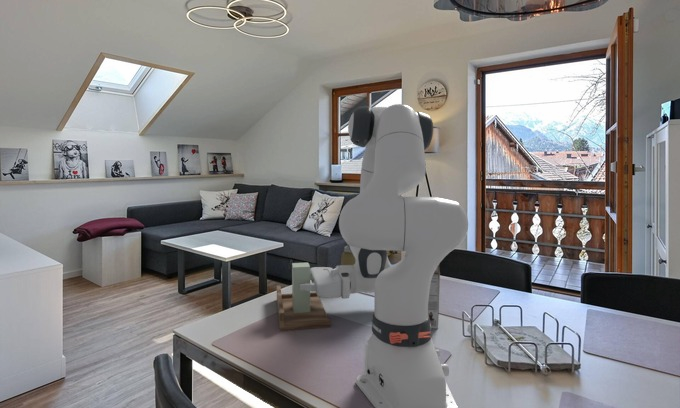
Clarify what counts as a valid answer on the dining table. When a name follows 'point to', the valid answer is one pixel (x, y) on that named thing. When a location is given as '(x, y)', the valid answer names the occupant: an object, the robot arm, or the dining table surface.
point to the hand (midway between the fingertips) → (298, 282)
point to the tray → (300, 320)
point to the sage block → (299, 297)
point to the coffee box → (434, 299)
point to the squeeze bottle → (347, 257)
